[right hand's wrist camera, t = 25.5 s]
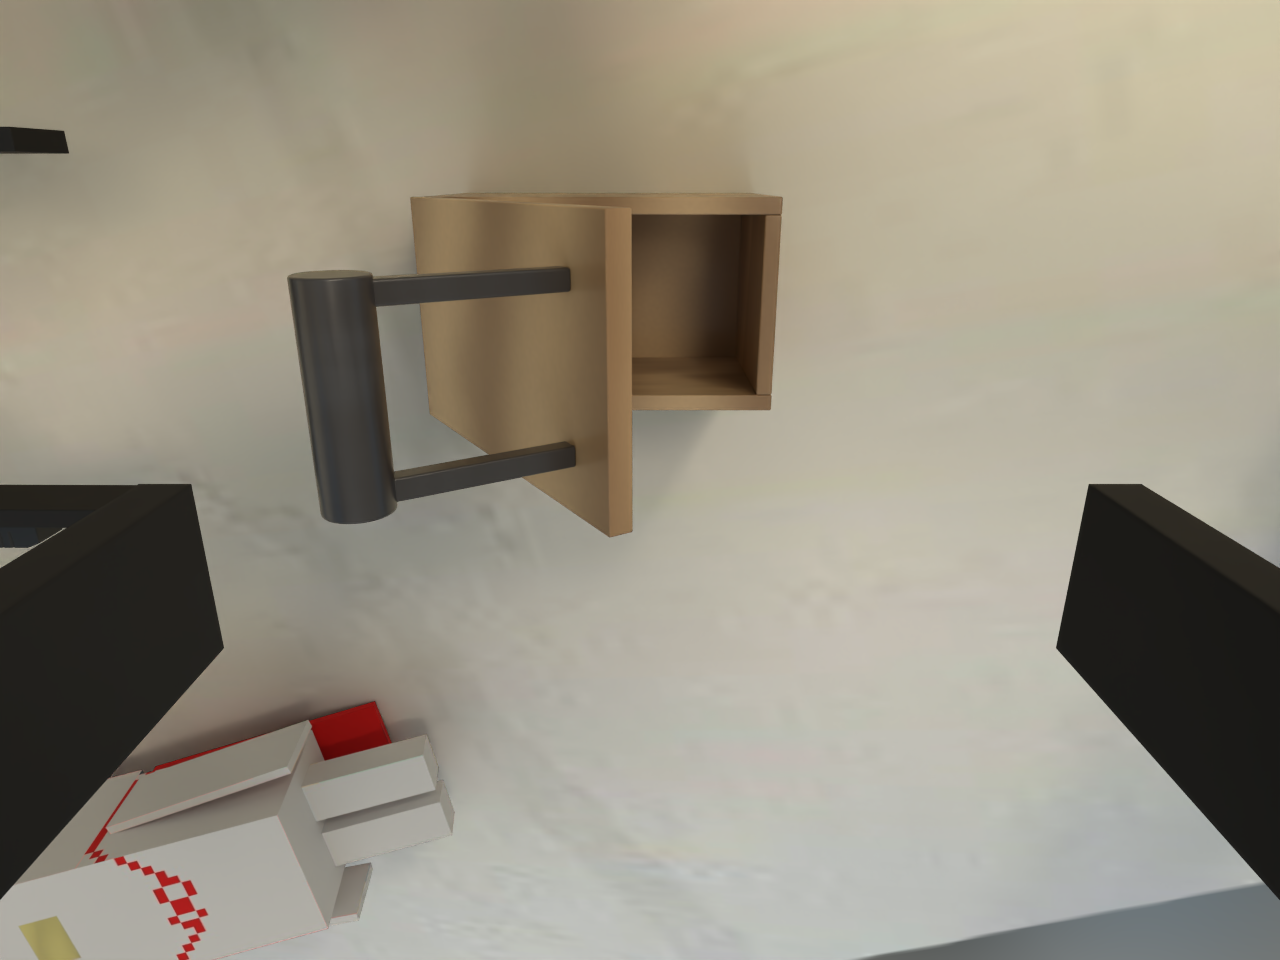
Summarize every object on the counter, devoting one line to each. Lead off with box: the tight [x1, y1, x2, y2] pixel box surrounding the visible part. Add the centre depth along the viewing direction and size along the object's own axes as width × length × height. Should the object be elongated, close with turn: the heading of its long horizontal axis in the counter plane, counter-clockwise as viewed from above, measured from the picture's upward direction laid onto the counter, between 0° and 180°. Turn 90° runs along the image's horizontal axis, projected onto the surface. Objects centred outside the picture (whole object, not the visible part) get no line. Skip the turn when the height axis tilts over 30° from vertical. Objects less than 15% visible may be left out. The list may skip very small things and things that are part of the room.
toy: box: [0, 701, 455, 960], centre depth 53 cm, size 12×13×30 cm
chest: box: [426, 193, 783, 410], centre depth 41 cm, size 16×10×9 cm, turn 90°
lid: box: [287, 197, 632, 537], centre depth 28 cm, size 16×10×8 cm
